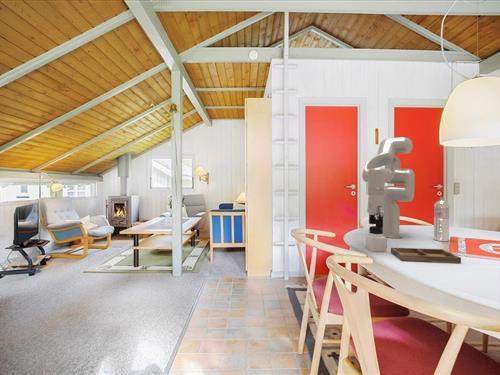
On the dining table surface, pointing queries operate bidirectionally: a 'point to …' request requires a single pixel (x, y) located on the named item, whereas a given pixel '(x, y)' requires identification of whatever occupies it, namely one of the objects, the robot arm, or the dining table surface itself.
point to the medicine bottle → (376, 240)
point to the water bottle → (441, 220)
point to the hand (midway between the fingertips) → (375, 225)
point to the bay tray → (425, 255)
